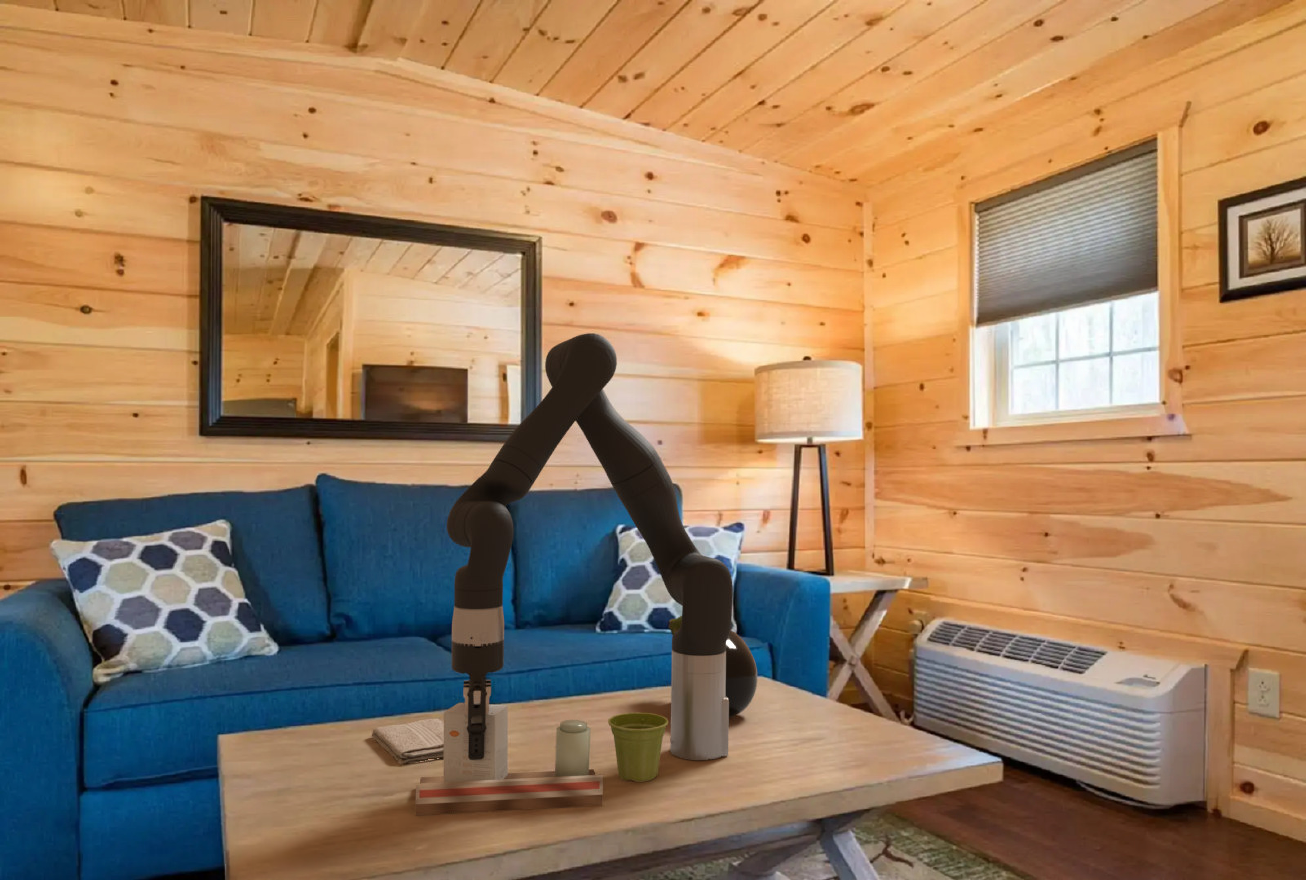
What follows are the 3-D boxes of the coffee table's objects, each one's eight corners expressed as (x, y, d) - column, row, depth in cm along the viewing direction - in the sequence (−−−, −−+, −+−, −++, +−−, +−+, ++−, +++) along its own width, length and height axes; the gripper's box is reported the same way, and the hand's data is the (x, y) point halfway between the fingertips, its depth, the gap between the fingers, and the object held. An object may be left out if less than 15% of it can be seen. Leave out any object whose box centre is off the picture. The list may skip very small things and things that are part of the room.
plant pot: (623, 790, 139) (624, 731, 139) (597, 770, 147) (598, 716, 147) (678, 780, 143) (679, 724, 143) (650, 762, 151) (651, 709, 152)
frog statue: (690, 749, 175) (642, 682, 197) (763, 737, 181) (708, 673, 203) (699, 660, 170) (648, 601, 192) (774, 650, 176) (716, 594, 198)
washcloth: (401, 769, 148) (401, 750, 148) (368, 740, 163) (369, 722, 163) (471, 757, 154) (471, 738, 155) (434, 730, 170) (434, 713, 170)
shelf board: (593, 778, 143) (593, 752, 143) (602, 805, 132) (603, 777, 133) (420, 787, 139) (421, 760, 139) (415, 815, 128) (415, 786, 128)
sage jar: (585, 776, 140) (587, 718, 140) (591, 788, 135) (593, 727, 135) (552, 778, 139) (554, 719, 139) (557, 790, 134) (559, 729, 134)
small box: (508, 776, 137) (509, 704, 138) (494, 789, 132) (495, 714, 132) (457, 771, 139) (458, 701, 139) (442, 784, 133) (443, 711, 134)
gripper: (453, 628, 142) (451, 737, 142) (450, 647, 128) (448, 768, 128) (502, 627, 143) (501, 735, 143) (505, 646, 129) (503, 765, 129)
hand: (476, 750), depth 135 cm, fingers closed on small box, 7 cm apart
